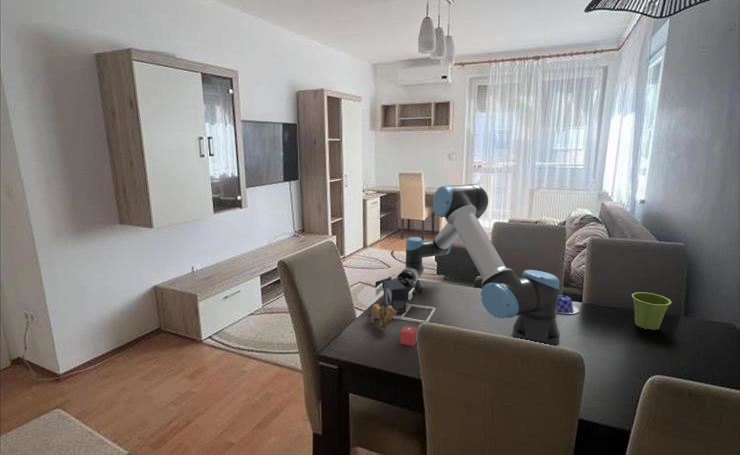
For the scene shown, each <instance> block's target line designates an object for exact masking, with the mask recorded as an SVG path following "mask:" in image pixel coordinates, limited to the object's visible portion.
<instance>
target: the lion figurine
mask: <svg viewBox="0 0 740 455" xmlns="http://www.w3.org/2000/svg"><path fill="white" fill-rule="evenodd" d="M381 307H382V306H380V305H379V304H377V303H375V304H373V305H372V307H371V314H368V316H367V317H368V318H370V317H371V321H370V322H371V323H372V324H373V323H374V324H375V320H376V319H378V320H379V330H384V327H386V328H388V327H389V324H388V322H390V320H392V319H394V318H393V316H395V314H396V312H397V311H395V310H394V309H393V308H392V306H386V307H382V308H381ZM374 319H375V320H374ZM383 322H384V323H383Z"/></svg>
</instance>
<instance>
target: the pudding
mask: <svg viewBox="0 0 740 455" xmlns="http://www.w3.org/2000/svg"><path fill="white" fill-rule="evenodd" d="M572 300H573V299H572V298H571V297H569V296H568V295H563V294H558V303H557V313H559V314H562V313H563V314H564V315H565V314H566V315H572V314H577V313H579V311H580V310H579V308H578V307H577V306H575V305H573V301H572ZM573 311H574V312H573ZM564 312H565V313H564ZM571 312H573V313H571Z"/></svg>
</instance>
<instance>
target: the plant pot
mask: <svg viewBox="0 0 740 455" xmlns="http://www.w3.org/2000/svg"><path fill="white" fill-rule="evenodd" d="M631 297H632V298H633V300H632V301H633V306H634V307H633V308H634V325H635V324H636V325H637V326H639V327H641V328H644V329H643V330H646V329H651V330H656V329H658V330H659V329H660V327H661V325H662V324H661V323H662V322H663V319H664V316H665V313H666V312H667V310H668V308H669V306H670V305H672V301H671V299H669V298H667V297H665V296H663V295H661V294H660V295H659V294H656V293H651V292H644V291H643V292H641V291H640V292H639V291H638V292H634V293H632V294H631ZM636 325H635V326H636ZM637 326H636V327H637ZM639 327H638V328H639ZM641 328H640V329H641Z"/></svg>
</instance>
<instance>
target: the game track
mask: <svg viewBox="0 0 740 455" xmlns="http://www.w3.org/2000/svg"><path fill="white" fill-rule="evenodd" d="M382 307H385V305H384V304H383V305H382V306H380V308H382ZM412 307H413V308H418V309H419V308H420V309H426V310H431V312H430V314H429V315H428V317H427V318H426V320H422V319H415V318H409V317H406V316H405V315H406V314H407V313H408V311H410V309H411V308H412ZM435 312H436V307H435V306H434V307H433V306H427V305H421V304H413V303H407V302H406V313H399V314H395V316H393V318H392V319H395V320H402V321H408V322H412V323H413V322H415V323H420V324H423V323H422V322H428V323H429V322H430V320H431V318H432V317H433V315H434V313H435Z"/></svg>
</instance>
